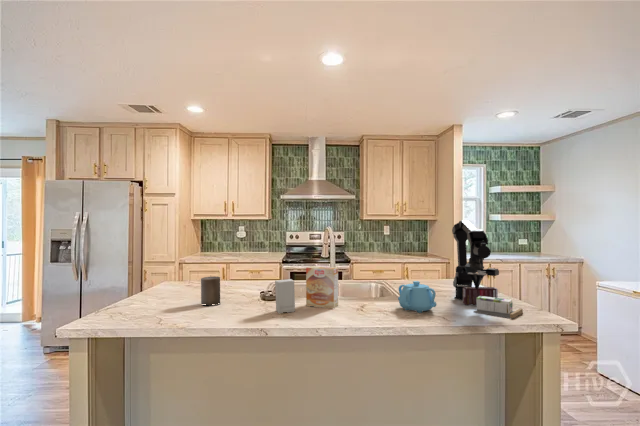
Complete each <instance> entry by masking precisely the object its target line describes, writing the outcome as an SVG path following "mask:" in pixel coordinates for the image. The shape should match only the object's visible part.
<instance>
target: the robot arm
mask: <svg viewBox="0 0 640 426" xmlns="http://www.w3.org/2000/svg"><path fill="white" fill-rule="evenodd" d="M451 233H452V235H453V238H454V240H455V242H456V251H457V252H456V253H457V265H456V267H455V276H454V279H453V281H452V285H453V287H454V288H455V296H454V299H456V300H457V299H458V300H463V287H473V285H474V287H475V288H476V289H478V288H479V287H480V285H481V282H482V281H483V279H484V277H486V276H493V277H495V276H499V275H500V270H499V269H498V268H493V267H489V268H485V266H484V261H485V259H487V258H489V257H490V255H491V253H492V252H491V249H490V247H488V245H489V239H488V237H487V234H486V232H485V231H484V230H483V229H481V228H477V227H475V226H474V224H473V223H472V222H471V220H468V219H462V220H459V222H457V223H455V224H454V225H453V227H452V229H451ZM467 241H468V242H469V254H470V255H469V256H470V257H469V258H468V256H467Z"/></svg>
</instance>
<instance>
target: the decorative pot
mask: <svg viewBox="0 0 640 426" xmlns="http://www.w3.org/2000/svg"><path fill="white" fill-rule="evenodd" d="M398 293H399V296H398V298H397V299H398V302H399V306H400V307H401V308H402V309H404V311H407V310H409V311H416V313H419V314H422V313H423V312H426V311H429V310H432V309H433V308H436V307H437V302H436V301H435V299H436V296H437V295H436V294H437V293H436V291H435V289H434V288H432V287H430V286H429V285H428V284H421V282H420V281H418V280H414V281H412V283H408V284H401V285H399V286H398Z"/></svg>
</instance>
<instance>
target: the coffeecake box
mask: <svg viewBox="0 0 640 426" xmlns="http://www.w3.org/2000/svg"><path fill="white" fill-rule="evenodd" d="M305 274H306V275H305V280H306V281H305V286H306V287H305V288H306V291H305V296H306V297H305V301H306V307H310V306H314V307H313V308H321V307H325V308H324V309H332V308H334V309H335V308H337V307H338V306H339V267H336V266H333V267H332V266H318V265H317V266H316V265H315V266H314V265H312V266H307V267H306V268H305Z"/></svg>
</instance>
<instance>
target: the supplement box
mask: <svg viewBox="0 0 640 426" xmlns="http://www.w3.org/2000/svg"><path fill="white" fill-rule="evenodd" d="M498 292H499V289H498V288H496V287H494V286H493V287H492V286H491V287H490V286H479V288H478V289H476V288H475V286H472V287H463V299H462V304H464V305H465V306H477V304H476V298H477V297H479V296H486V297H494V298H499V297H498V294H499V293H498Z"/></svg>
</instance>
